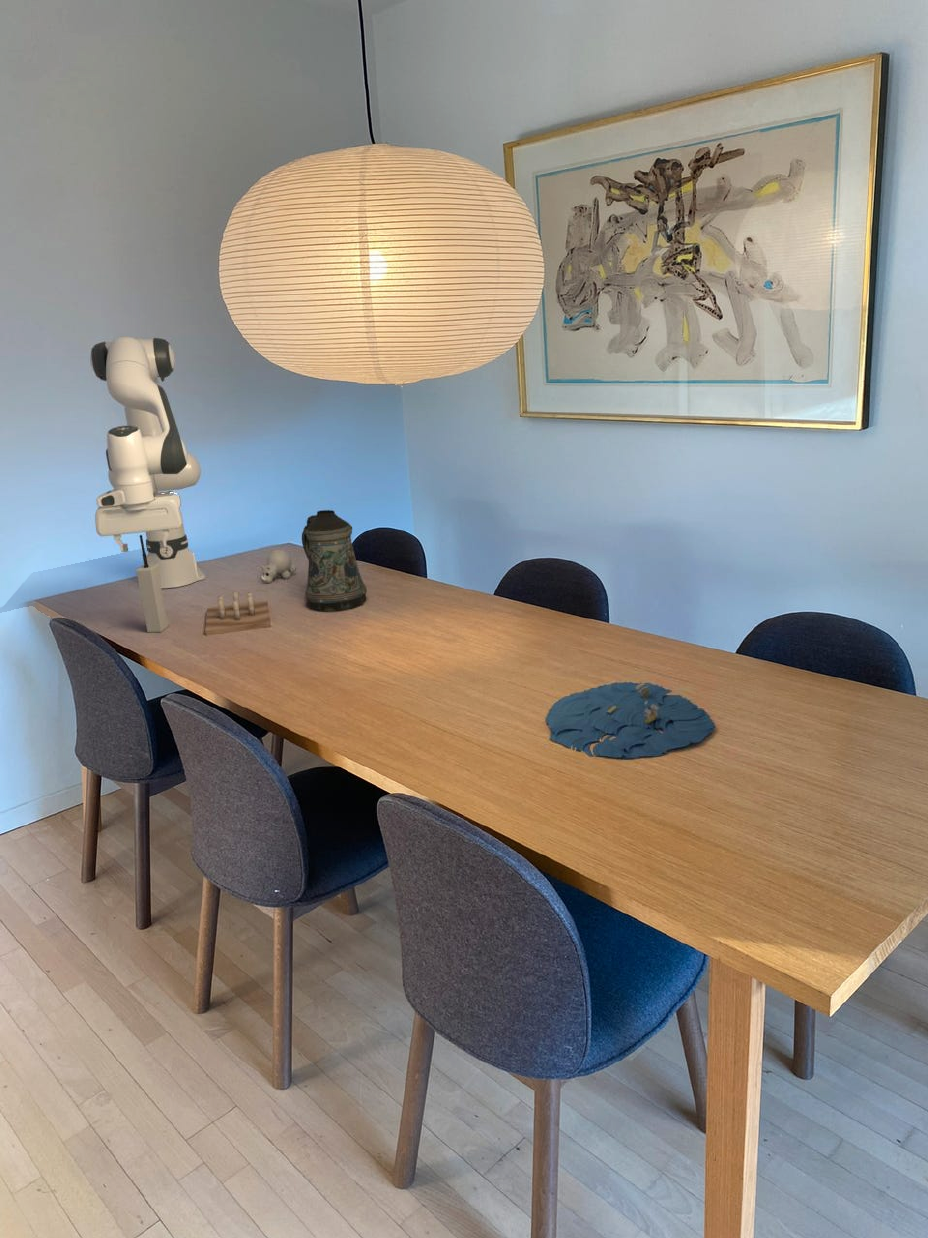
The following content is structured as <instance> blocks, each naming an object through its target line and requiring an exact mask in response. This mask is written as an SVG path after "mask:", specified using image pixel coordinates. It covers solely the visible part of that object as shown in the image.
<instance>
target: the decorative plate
mask: <svg viewBox="0 0 928 1238" xmlns="http://www.w3.org/2000/svg"><path fill="white" fill-rule="evenodd" d="M669 693H673V691H672V690H671V689H667V688H665V687H664V686H662V685H660V686H659V684H653V683H650V682H631V681H628V682H627V681H623V682H622V681H620V682H617V681H616V682H615V681H614V682H613V683H610V684H603V685H598V686H597V687H590V688H589V689H587V690H586V689H585V690H583V691H581V692H580V691H578V692H575V693H570V695H565V696H563V697H561V698H560V699H558V701H556V702H554V703H553V704H552V705H551V707H550V709H548V713H547V715H546V717H545V718H544V719H545V722H546V724H548V729H549V731H550V735H549V736H550V737H549V740H550V741H552V742H554V743H556V744H561V745H562V746H564V747H566V748H567V749H570V750H572V751H575V750H576V751H575V752H578V751H579V752H581V753H583V754H585V755H587V756H588V757H595V758H596V757H598V756H601V757H608V758H613V759H614V758H615V759H617V758H619V759H620V758H622V759H624V760H629V759H635V760H636V759H638V758H640V757H641V758H643V757H644V758H645V757H658V756H659V757H660V756H662V755H663V754H667V755H669V754H670V753H669V752H667V751H668V750H674V749H676V748H681V747H684V748H685V747H687V746H689V745H691V744H696V743H697V744H698V743H700V742H702V741H703V740H704V739H705V737H707V736H708V735H709V734H711V733H713V731H715V728H717V726H715V722H713V721H712V719H711V716H710V715H709V714H708V712H707V711H706V710H705V709H704V708H702V707H701V708H700V707H699V706H698V705H697V704H696V703H693V702H692V701H691V700H690V699H688V698H686V697H683V696H682V695H680V694H669ZM667 694H668V695H667ZM605 735H607V736H606V737H605V738H604V739H603V737H604V736H605ZM613 737H614V738H613ZM611 738H612V739H611ZM600 740H601V741H600ZM594 742H595V743H596V742H598V743H596V744H594V745H593V748H592V750H591V746H592V744H593V743H594Z"/></svg>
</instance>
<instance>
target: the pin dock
mask: <svg viewBox="0 0 928 1238" xmlns="http://www.w3.org/2000/svg"><path fill="white" fill-rule="evenodd" d="M238 592H239V591H232V593H231V594H232V604H230V605H228V604H227V605H226V604H225V600H224V595H218V596H217V606H214V607H213V606H212V607H208V608H207V607H206V617H205V627H204V631H205V633H204V634H205V636H210V635H216V634H217V635H218V634H224V633H234V632H242V631H248V630H249V631H250V630H257V629H265V628H270V627H272V624H271V618H270V617H271V616H270V609H269V603H268V600H262V601H261V600H260V601H255V602H254V596H253V592H252V591H249V592H247V593H246V599H247V602H245V603H244V602H243V603H240V599H239V593H238Z"/></svg>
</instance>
